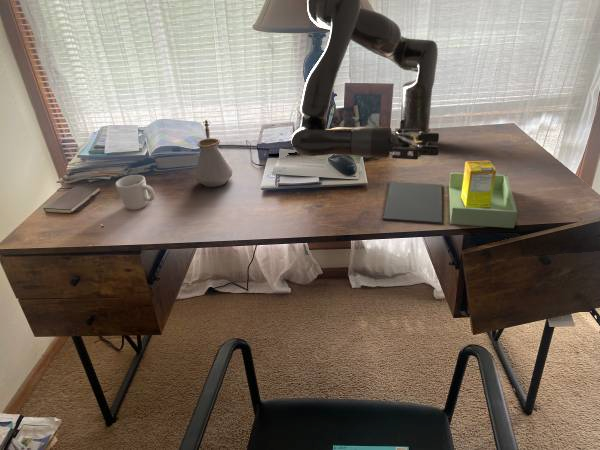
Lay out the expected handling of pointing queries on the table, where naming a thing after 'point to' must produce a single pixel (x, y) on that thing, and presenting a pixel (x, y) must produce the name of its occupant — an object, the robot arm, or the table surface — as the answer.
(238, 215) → the table surface
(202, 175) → the coffee pot
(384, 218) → the grey mat
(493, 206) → the desk tray
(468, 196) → the supplement box
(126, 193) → the cup
